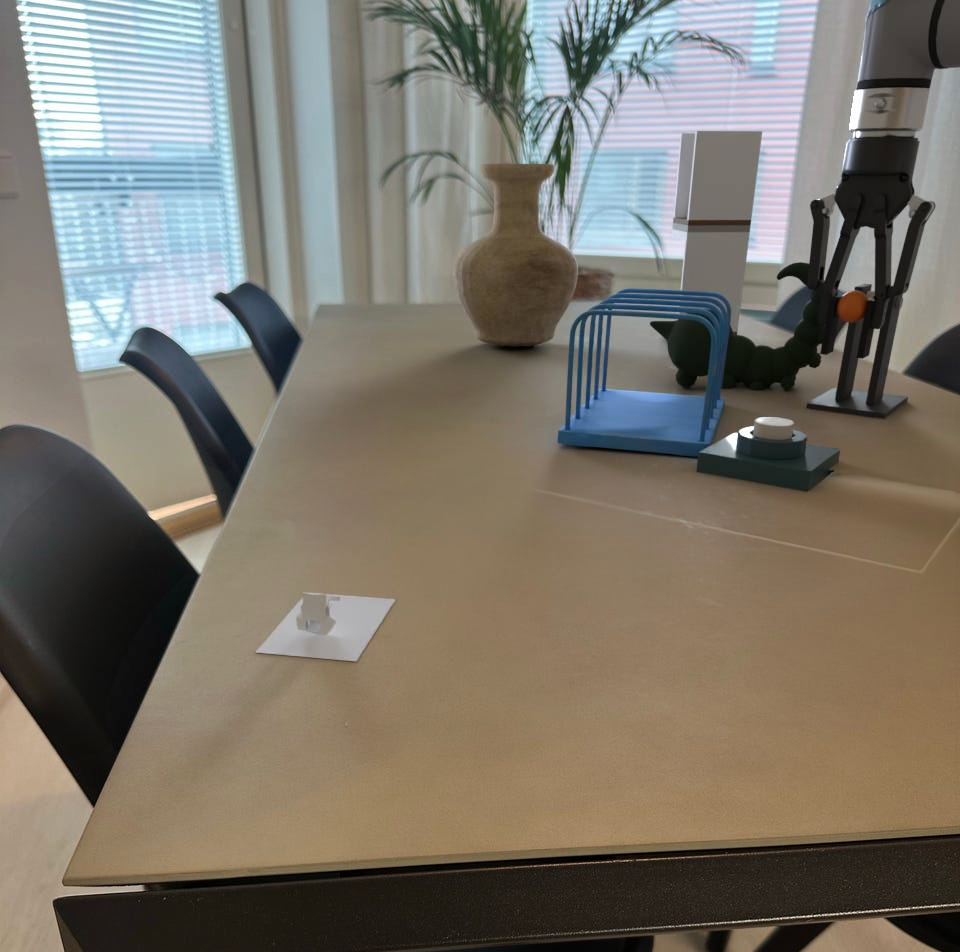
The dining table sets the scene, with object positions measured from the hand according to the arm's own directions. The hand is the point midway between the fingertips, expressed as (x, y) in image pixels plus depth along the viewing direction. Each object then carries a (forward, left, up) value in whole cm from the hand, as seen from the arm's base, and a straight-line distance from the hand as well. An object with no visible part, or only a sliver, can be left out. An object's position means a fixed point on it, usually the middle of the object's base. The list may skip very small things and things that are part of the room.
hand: (844, 354), depth 111 cm
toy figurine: (+19, -14, -9) cm, 25 cm away
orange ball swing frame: (0, -11, -9) cm, 14 cm away
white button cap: (0, +23, -5) cm, 24 cm away
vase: (+67, -28, -9) cm, 73 cm away
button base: (0, +23, -9) cm, 25 cm away
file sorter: (+19, +14, -9) cm, 25 cm away
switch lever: (0, -5, +3) cm, 6 cm away
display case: (+42, -55, -9) cm, 70 cm away
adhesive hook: (+12, +78, -9) cm, 80 cm away
